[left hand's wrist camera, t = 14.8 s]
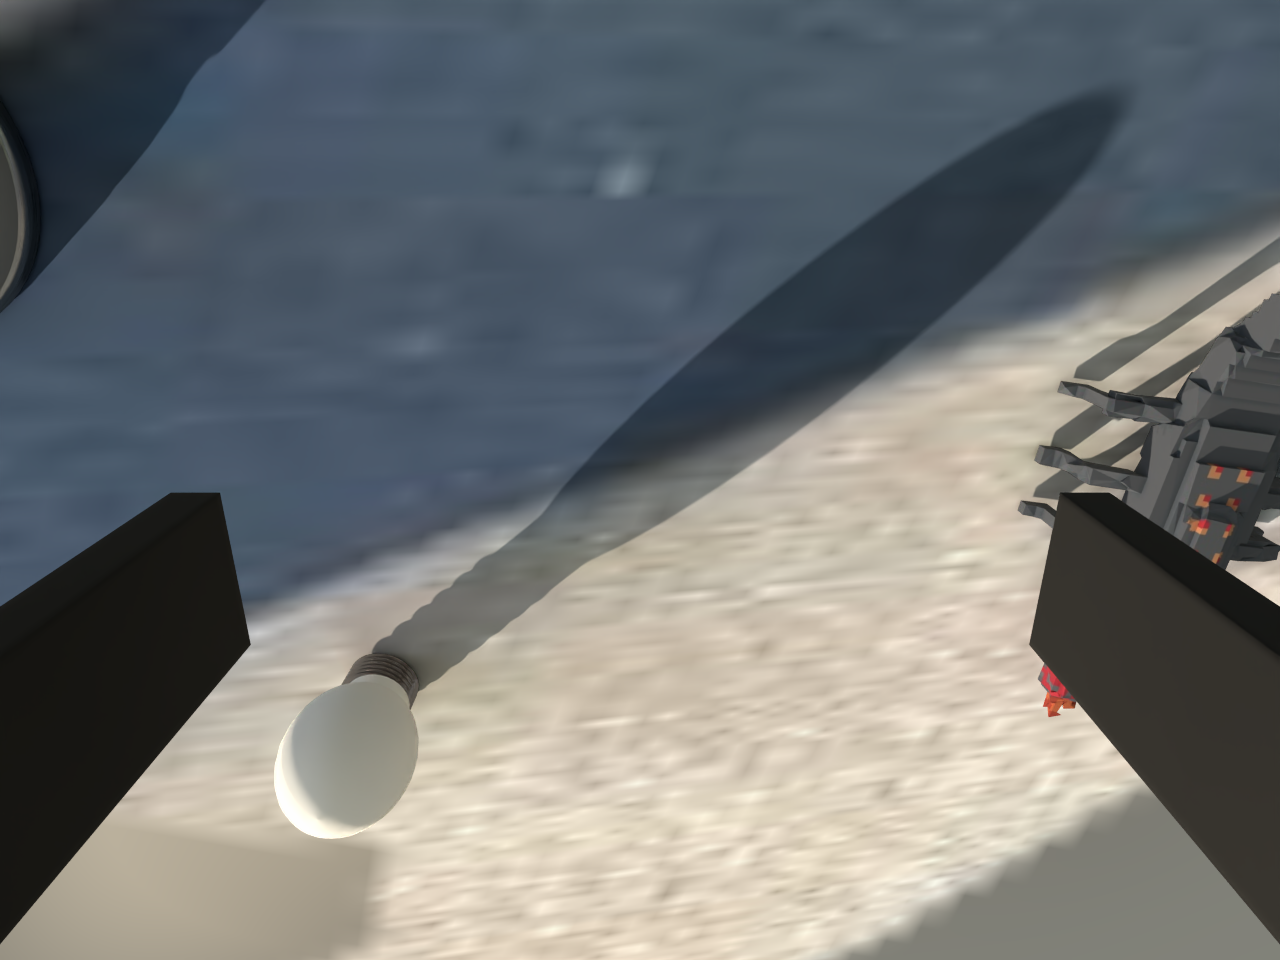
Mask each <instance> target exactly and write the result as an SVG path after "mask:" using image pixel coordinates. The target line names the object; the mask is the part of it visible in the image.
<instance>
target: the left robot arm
mask: <svg viewBox="0 0 1280 960" xmlns="http://www.w3.org/2000/svg"><path fill="white" fill-rule="evenodd" d="M39 235H40V204H39V195H38V189H37V184H36V180H35V175H34V172H33V168H32V165H31V162H30V158H29V156H28V153H27V151H26V148H25V146H24V143H23V141H22V138H21V136H20V134H19V132H18V130H17V128H16V126H15V124H14V122H13V121H12V119H11V117H10V115H9V114H8V112H7V110H6V109H5V107H4V105H3V104H2V103H1V101H0V313H1V312H2V311H3V310H4V309H5V308H6V307H7V306H8V305H9V304H10V303H11V302H12V301H13V300H14V298H15V297H16V296H17V295H18V293H19V292H20V290H21V289H22V287H23V286H24V284H25V282H26V280H27V278H28V276H29V274H30V272H31V270H32V267H33V264H34V260H35V257H36V254H37V249H38V243H39ZM250 645H251V644H250V639H249V634H248V629H247V624H246V619H245V614H244V609H243V604H242V599H241V595H240V590H239V585H238V580H237V575H236V570H235V565H234V560H233V555H232V550H231V545H230V540H229V535H228V530H227V526H226V521H225V516H224V511H223V506H222V501H221V496H220V493H170V494H168V495H167V496H165V497H164V498H162V499H161V500H159V501H158V502H156V503H155V504H153V505H152V506H150V507H149V508H147V509H146V510H144V511H143V512H141V513H140V514H138V515H137V516H135V517H134V518H132V519H131V520H129V521H128V522H126V523H125V524H123V525H122V526H120V527H119V528H117V529H116V530H114V531H113V532H111V533H110V534H108V535H107V536H105V537H104V538H102V539H101V540H99V541H98V542H96V543H95V544H93V545H92V546H90V547H89V548H87V549H86V550H84V551H83V552H81V553H80V554H78V555H77V556H75V557H74V558H72V559H71V560H69V561H68V562H66V563H65V564H63V565H62V566H60V567H59V568H57V569H56V570H54V571H53V572H51V573H50V574H48V575H47V576H45V577H44V578H42V579H41V580H39V581H38V582H36V583H35V584H33V585H32V586H30V587H29V588H27V589H26V590H24V591H23V592H21V593H20V594H18V595H17V596H15V597H14V598H12V599H11V600H9V601H8V602H6V603H5V604H3V605H2V606H0V944H1V943H2V941H3V940H4V939H5V938H6V937H7V935H8V934H9V933H10V932H11V931H12V929H13V928H14V927H15V926H16V925H17V923H18V922H19V921H20V920H21V919H22V917H23V916H24V915H25V914H26V913H27V911H28V910H29V909H30V908H31V907H32V905H33V904H34V903H35V902H36V901H37V899H38V898H39V897H40V896H41V895H42V894H43V892H44V891H45V890H46V889H47V888H48V886H49V885H50V884H51V883H52V882H53V880H54V879H55V878H56V877H57V876H58V874H59V873H60V872H61V871H62V870H63V868H64V867H65V866H66V865H67V864H68V862H69V861H70V860H71V859H72V858H73V856H74V855H75V854H76V853H77V852H78V850H79V849H80V848H81V847H82V846H83V844H84V843H85V842H86V841H87V840H88V839H89V837H90V836H91V835H92V834H93V833H94V831H95V830H96V829H97V828H98V827H99V825H100V824H101V823H102V822H103V821H104V819H105V818H106V817H107V816H108V815H109V813H110V812H111V811H112V810H113V809H114V807H115V806H116V805H117V804H118V803H119V801H120V800H121V799H122V798H123V797H124V796H125V794H126V793H127V792H128V791H129V790H130V788H131V787H132V786H133V785H134V784H135V782H136V781H137V780H138V779H139V778H140V776H141V775H142V774H143V773H144V772H145V770H146V769H147V768H148V767H149V766H150V764H151V763H152V762H153V761H154V760H155V758H156V757H157V756H158V755H159V754H160V752H161V751H162V750H163V749H164V748H165V747H166V745H167V744H168V743H169V742H170V741H171V739H172V738H173V737H174V736H175V735H176V733H177V732H178V731H179V730H180V729H181V727H182V726H183V725H184V724H185V723H186V721H187V720H188V719H189V718H190V717H191V715H192V714H193V713H194V712H195V711H196V709H197V708H198V707H199V706H200V705H201V703H202V702H203V701H204V700H205V699H206V698H207V696H208V695H209V694H210V693H211V692H212V690H213V689H214V688H215V687H216V686H217V684H218V683H219V682H220V681H221V680H222V678H223V677H224V676H225V675H226V674H227V672H228V671H229V670H230V669H231V668H232V666H233V665H234V664H235V663H236V662H237V660H238V659H239V658H240V657H241V656H242V654H243V653H244V652H245V651H246V650H247V649H248V647H249V646H250ZM1029 645H1030V646H1031V647H1032V649H1033V650H1034V651H1035V652H1036V653H1037V654H1038V656H1039V657H1040V658H1041V659H1042V660H1043V662H1044V663H1045V664H1046V665H1047V666H1048V668H1049V669H1050V670H1051V671H1052V672H1053V674H1054V675H1055V676H1056V677H1057V678H1058V680H1059V681H1060V682H1061V683H1062V684H1063V686H1064V687H1065V688H1066V689H1067V690H1068V692H1069V693H1070V694H1071V695H1072V696H1073V698H1074V699H1075V700H1076V701H1077V702H1078V703H1079V705H1080V706H1081V707H1082V708H1083V709H1084V711H1085V712H1086V713H1087V714H1088V715H1089V717H1090V718H1091V719H1092V720H1093V721H1094V723H1095V724H1096V725H1097V726H1098V727H1099V729H1100V730H1101V731H1102V732H1103V733H1104V735H1105V736H1106V737H1107V738H1108V739H1109V741H1110V742H1111V743H1112V744H1113V745H1114V747H1115V748H1116V749H1117V750H1118V751H1119V752H1120V754H1121V755H1122V756H1123V757H1124V758H1125V760H1126V761H1127V762H1128V763H1129V764H1130V766H1131V767H1132V768H1133V769H1134V770H1135V772H1136V773H1137V774H1138V775H1139V776H1140V778H1141V779H1142V780H1143V781H1144V782H1145V784H1146V785H1147V786H1148V787H1149V788H1150V790H1151V791H1152V792H1153V793H1154V794H1155V796H1156V797H1157V798H1158V799H1159V800H1160V801H1161V803H1162V804H1163V805H1164V806H1165V807H1166V809H1167V810H1168V811H1169V812H1170V813H1171V815H1172V816H1173V817H1174V818H1175V819H1176V821H1177V822H1178V823H1179V824H1180V825H1181V827H1182V828H1183V829H1184V830H1185V831H1186V833H1187V834H1188V835H1189V836H1190V837H1191V839H1192V840H1193V841H1194V842H1195V843H1196V845H1197V846H1198V847H1199V848H1200V849H1201V850H1202V852H1203V853H1204V854H1205V855H1206V856H1207V858H1208V859H1209V860H1210V861H1211V862H1212V864H1213V865H1214V866H1215V867H1216V868H1217V870H1218V871H1219V872H1220V873H1221V874H1222V876H1223V877H1224V878H1225V879H1226V880H1227V882H1228V883H1229V884H1230V885H1231V886H1232V887H1233V889H1234V890H1235V891H1236V892H1237V894H1238V895H1239V896H1240V897H1241V898H1242V899H1243V901H1244V902H1245V903H1246V904H1247V905H1248V907H1249V908H1250V909H1251V910H1252V911H1253V913H1254V914H1255V915H1256V916H1257V917H1258V919H1259V920H1260V921H1261V922H1262V923H1263V925H1264V926H1265V927H1266V928H1267V929H1268V931H1269V932H1270V933H1271V934H1272V935H1273V937H1274V938H1275V939H1276V940H1277V941H1278V942H1279V944H1280V606H1278V605H1277V604H1275V603H1274V602H1272V601H1271V600H1269V599H1268V598H1266V597H1265V596H1263V595H1262V594H1260V593H1259V592H1257V591H1256V590H1254V589H1253V588H1251V587H1250V586H1248V585H1247V584H1245V583H1244V582H1242V581H1241V580H1239V579H1238V578H1236V577H1235V576H1233V575H1232V574H1230V573H1229V572H1227V571H1226V570H1224V569H1223V568H1221V567H1220V566H1218V565H1217V564H1215V563H1214V562H1212V561H1211V560H1209V559H1208V558H1206V557H1205V556H1203V555H1202V554H1200V553H1199V552H1197V551H1196V550H1194V549H1193V548H1191V547H1190V546H1188V545H1187V544H1185V543H1184V542H1182V541H1181V540H1179V539H1178V538H1176V537H1175V536H1173V535H1172V534H1170V533H1169V532H1167V531H1166V530H1164V529H1163V528H1161V527H1160V526H1158V525H1157V524H1155V523H1154V522H1152V521H1151V520H1149V519H1148V518H1146V517H1145V516H1143V515H1142V514H1140V513H1139V512H1137V511H1136V510H1134V509H1133V508H1131V507H1130V506H1128V505H1127V504H1125V503H1124V502H1122V501H1121V500H1119V499H1118V498H1116V497H1115V496H1113V495H1112V494H1110V493H1060V496H1059V501H1058V506H1057V511H1056V516H1055V521H1054V526H1053V530H1052V535H1051V540H1050V545H1049V550H1048V555H1047V560H1046V565H1045V570H1044V575H1043V580H1042V585H1041V590H1040V595H1039V599H1038V604H1037V609H1036V614H1035V619H1034V624H1033V629H1032V634H1031V639H1030V644H1029Z"/></svg>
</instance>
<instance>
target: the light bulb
mask: <svg viewBox="0 0 1280 960" xmlns="http://www.w3.org/2000/svg"><path fill="white" fill-rule="evenodd" d="M418 689H419V682H418V678H417V676H416V674H415V672H414V671H413V670H412V669H411V667H410V666H408V665H407V664H406V663H405V662H403V661H402V660H400V659H398V658H396V657H393V656H390V655H386V654H369V655H366V656H364V657H361V658H360V659H358V660H357V661H356V662H355V663H354V664H353V666H352V668H351V669H350V671H349V673H348V675H347V676H346V678H345V680H344V681H343V683H342V685H340V686H338V687H335V688H333V689H331V690H329V691H326V692H324V693H323V694H321V695H320V696H318V697H317V698H315V699H314V700H313V701H312V702H310V703H309V704H308V705H307V706H306V707H305V708H304V709H303V710H302V711H301V712H300V713H299V714H298V716H297V717H296V718H295V719H294V721H293V722H292V723H291V725H290V727H289V728H288V730H287V732H286V734H285V736H284V738H283V740H282V742H281V744H280V747H279V751H278V755H277V759H276V763H275V778H274V780H275V791H276V795H277V798H278V802H279V805H280V807H281V809H282V811H283V813H284V814H285V815H286V817H287V818H288V819H289V820H290V821H291V823H292V824H293V825H295V826H296V827H297V828H298V829H300V830H301V831H303V832H304V833H307V834H309V835H311V836H315V837H319V838H342V837H347V836H351V835H354V834H356V833H359V832H361V831H363V830H365V829H367V828H369V827H371V826H372V825H374V824H375V823H377V822H378V821H379V820H380V819H382V818H383V817H384V816H385V815H386V814H387V813H388V812H389V811H390V810H391V809H392V808H393V807H394V806H395V805H396V803H397V802H398V801H399V799H400V798H401V796H402V795H403V793H404V792H405V790H406V788H407V786H408V784H409V782H410V780H411V778H412V775H413V772H414V769H415V765H416V761H417V756H418V732H417V727H416V723H415V719H414V717H413V714H412V712H411V711H410V710H411V707H412V705H413V703H414V701H415V698H416V696H417V692H418Z"/></svg>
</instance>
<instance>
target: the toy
mask: <svg viewBox="0 0 1280 960" xmlns="http://www.w3.org/2000/svg"><path fill="white" fill-rule="evenodd" d="M1058 392H1059V393H1063V394H1066V395H1070V396H1073V397H1077V398H1082V399H1084V400H1086V401H1088V402H1090V403H1093V404H1095V405H1097V406H1099V407H1101V408H1103V411H1102V413H1103V414H1105V415H1107V416H1111V417H1120V418H1128V419H1132V420H1134V421H1140V422H1152V423H1160V424H1158V425H1155V426H1152V427H1151V429H1150V432H1149V434H1148V436H1147V438H1146V441H1145V443H1144V445H1143V448H1142V450H1141V452H1140V454H1141V457H1142V458H1141V460H1140V462H1139V464H1138V465H1137V467H1136V469H1135V471H1134V472H1133V471H1131V470H1128V469H1122V468H1117V467H1111V466H1106V465H1100V464H1095V463H1090V462H1084V461H1082V460H1081V459H1079V458H1078V457H1077V456H1075V455H1074V454H1072V453H1071V452H1069V451H1067V450H1064V449H1062V448H1057V447H1050V446H1043V445H1039V448H1038V451H1037V454H1036V457H1035V460H1034V461H1036V462H1037V463H1039V464H1041V465H1046V466H1051V467H1055V468H1059V469H1062V470H1064V471H1067V472H1069V473H1070V474H1071V475H1073V476H1074V477H1076V478H1077V479H1079V480H1081V481H1083V482H1085V483H1087V484H1089V485H1094V486H1101V487H1108V488H1115V489H1122V490H1126V491H1125V494H1124V496H1123V499H1122V502H1124V503H1125V504H1127V505H1128V506H1130V507H1131V508H1133V509H1134V510H1136V511H1137V512H1139V513H1140V514H1142V515H1143V516H1145V517H1146V518H1148V519H1149V520H1151V521H1152V522H1154V523H1155V524H1157V525H1158V526H1160V527H1161V528H1163V529H1164V530H1166V531H1167V532H1169V533H1170V534H1172V535H1173V536H1175V537H1176V538H1178V539H1179V540H1181V541H1182V542H1184V543H1185V544H1187V545H1188V546H1190V547H1191V548H1193V549H1194V550H1196V551H1197V552H1199V553H1200V554H1202V555H1203V556H1205V557H1206V558H1208V559H1209V560H1211V561H1212V562H1214V563H1215V564H1217V565H1218V566H1220V567H1221V568H1223V569H1224V570H1226V567H1227V565H1228V563H1229V560H1235V561H1260V562H1265V561H1271V560H1277V556H1278V552H1279V551H1280V546H1279V545H1277V544H1275V543H1273V542H1272V541H1270V540H1268V539H1266V538H1265V537H1263V536H1262V535H1263V534H1264V532H1263V530H1261V529H1260V528H1258V527H1255V526H1254V525H1255V523H1256V521H1257V518H1258V516H1259V513H1260V511H1261V509H1263V510H1266V509H1271V508H1273V509H1280V478H1277V477H1275V475H1276V472H1277V464H1278V462H1279V459H1280V295H1279V294H1271V297H1270V299H1269V300H1265V299H1264V301H1263V303H1262V306H1261V308H1260V310H1259V312H1253V315H1252V317H1251V318H1250V317H1246V318H1245V320H1244V321H1243V322H1242V323H1241V324H1239V325H1237V326H1235V327H1234V328H1231V327H1226V328H1225V329H1224V330H1223V332H1222V333H1221V334H1220V336H1219V337H1218V338H1217V339H1216V340H1215V342H1214V344H1213V346H1212V347H1211V349H1210V351H1209V352H1208V354H1207V356H1206V357H1205V359H1204V360H1203V362H1202V363H1201V365H1200V367H1199V368H1198V369H1197V370H1196V371H1195V372H1194V373H1193V372H1191V374H1190V375H1189V377H1188V378H1187V380H1186V381H1185V383H1184V385H1183V386H1182V388H1181V390H1180V391H1179V393H1178V395H1177V397H1176V399H1175V398H1164V397H1153V396H1138V395H1133V394H1128V393H1123V392H1118V391H1112V390H1110V391H1109V393H1106V392H1104V391H1101V390H1098V389H1096V388H1094V387H1092V386H1089V385H1085V384H1078V383H1071V382H1064V381H1061V383H1060V386H1059V389H1058ZM1018 511H1019V512H1020V513H1021V514H1023V515H1028V516H1033V517H1037V518H1040V519H1042V520H1043V521H1044V522H1045V523H1047V524H1048V525H1049V526H1050V527H1052V528H1053V526H1054V521H1055V516H1056V510H1054V509H1053V508H1052V507H1050V506H1049V505H1048V504H1044V503H1036V502H1029V501H1021V502H1020V505H1019V508H1018ZM1038 680H1039V681H1040V682H1041V685H1042V686H1043V687H1044V688H1045V689H1046V690H1047V691H1048V692H1047V695H1046V698H1045V702H1044V705H1043V707H1048V717H1052V716H1058V715H1060V714H1059V713H1057V711H1058V710H1059V708H1060V707H1061V705H1063V709H1066V708H1075V705H1076V700H1075V699H1074V698H1073V696H1072V695H1071V694H1070V693H1069V692H1068V690H1067V689H1066V688H1065V687H1064V686H1063V684H1062V683H1061V682H1060V681H1059V680H1058V678H1057V677H1056V676H1055V675H1054V674H1053V672H1052V671H1051V670H1050V669H1049V668H1048V666H1047V665H1046V664H1045V663H1044V666H1043V668H1042V670H1041V673H1040V675H1039V677H1038Z"/></svg>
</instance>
